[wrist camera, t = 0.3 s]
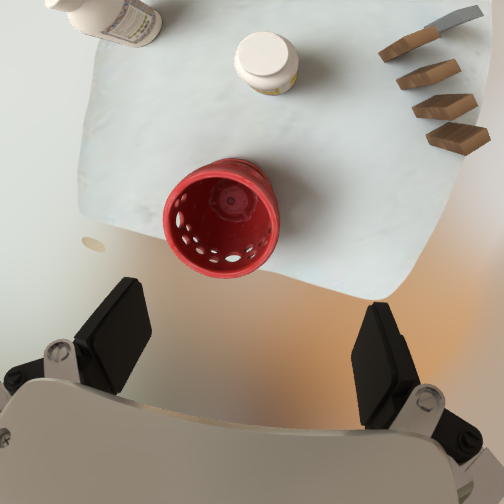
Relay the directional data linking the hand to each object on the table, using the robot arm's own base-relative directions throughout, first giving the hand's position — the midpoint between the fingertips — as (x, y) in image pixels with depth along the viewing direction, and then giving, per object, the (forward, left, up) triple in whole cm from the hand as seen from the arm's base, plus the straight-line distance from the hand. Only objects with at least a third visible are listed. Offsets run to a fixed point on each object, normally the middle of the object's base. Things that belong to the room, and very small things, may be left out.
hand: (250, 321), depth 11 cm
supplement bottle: (-14, -1, -31) cm, 34 cm away
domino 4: (-8, +24, -31) cm, 40 cm away
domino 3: (-12, +21, -31) cm, 39 cm away
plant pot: (+4, -6, -31) cm, 32 cm away
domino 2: (-16, +19, -31) cm, 39 cm away
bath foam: (-24, -20, -31) cm, 44 cm away
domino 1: (-19, +16, -31) cm, 40 cm away
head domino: (-26, +24, -31) cm, 47 cm away
